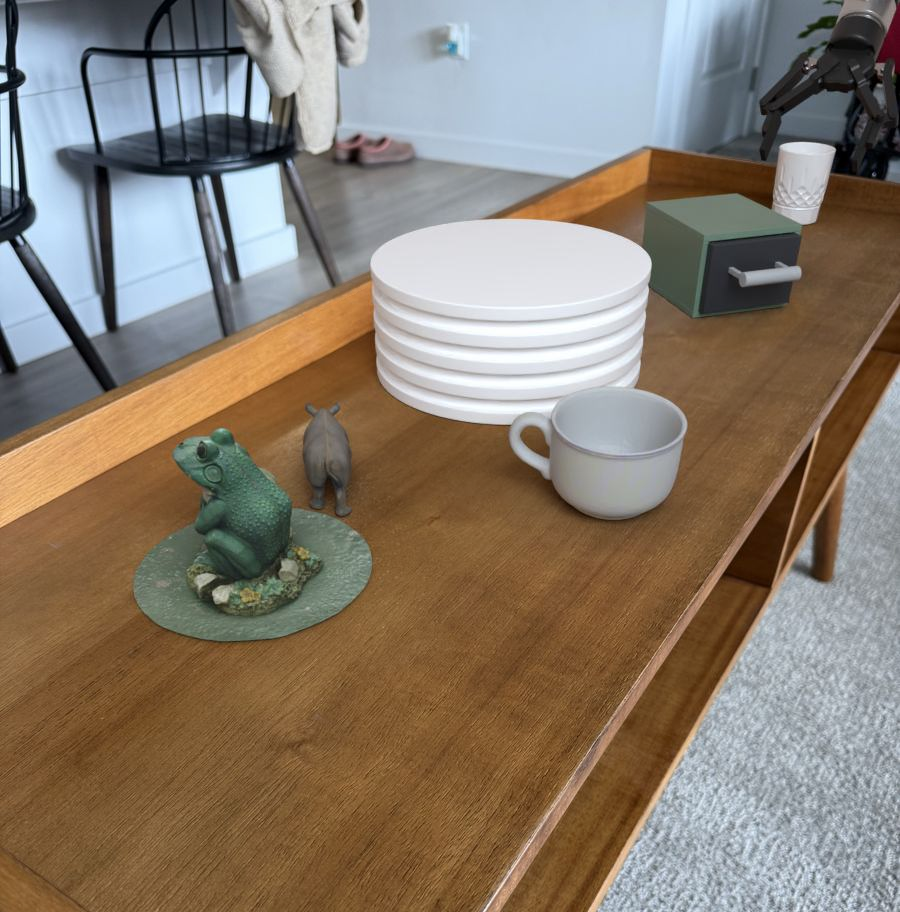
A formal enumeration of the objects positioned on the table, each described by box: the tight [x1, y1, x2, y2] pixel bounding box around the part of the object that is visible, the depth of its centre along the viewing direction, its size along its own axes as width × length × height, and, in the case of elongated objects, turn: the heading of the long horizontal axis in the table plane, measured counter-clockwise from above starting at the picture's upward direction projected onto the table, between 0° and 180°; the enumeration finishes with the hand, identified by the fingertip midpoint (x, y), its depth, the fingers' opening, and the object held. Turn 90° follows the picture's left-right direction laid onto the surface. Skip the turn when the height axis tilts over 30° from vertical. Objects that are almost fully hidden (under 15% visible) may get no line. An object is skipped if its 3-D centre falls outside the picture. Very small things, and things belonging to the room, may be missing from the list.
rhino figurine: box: [301, 402, 353, 517], centre depth 83 cm, size 4×14×6 cm, turn 9°
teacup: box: [508, 386, 688, 521], centre depth 79 cm, size 14×11×8 cm
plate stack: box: [369, 218, 652, 426], centre depth 100 cm, size 28×28×12 cm
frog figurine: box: [132, 427, 373, 642], centre depth 70 cm, size 18×18×12 cm
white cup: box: [771, 141, 837, 226], centre depth 143 cm, size 8×8×10 cm
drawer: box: [699, 233, 803, 314], centre depth 115 cm, size 18×11×8 cm, turn 17°
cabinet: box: [641, 193, 803, 319], centre depth 118 cm, size 15×13×10 cm
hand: (807, 160), depth 142 cm, fingers open, 13 cm apart
